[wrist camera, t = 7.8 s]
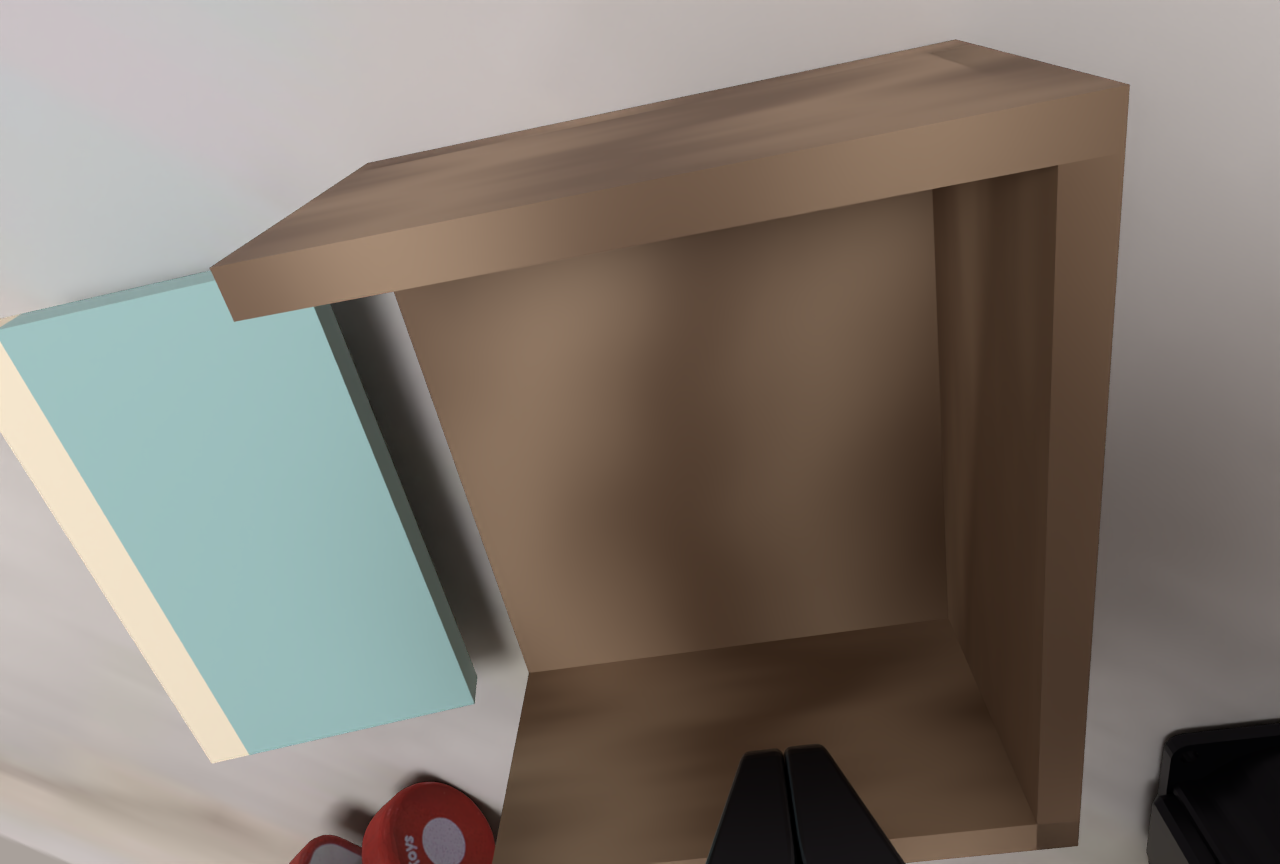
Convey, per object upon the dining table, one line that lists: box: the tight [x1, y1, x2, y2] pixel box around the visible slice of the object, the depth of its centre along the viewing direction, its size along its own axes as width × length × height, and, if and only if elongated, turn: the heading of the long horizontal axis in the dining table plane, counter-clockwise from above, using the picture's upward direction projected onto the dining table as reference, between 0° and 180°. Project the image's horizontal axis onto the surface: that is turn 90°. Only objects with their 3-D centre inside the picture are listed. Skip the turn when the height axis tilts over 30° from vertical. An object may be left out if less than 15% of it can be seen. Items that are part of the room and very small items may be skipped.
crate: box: [210, 40, 1130, 864], centre depth 17 cm, size 12×14×7 cm
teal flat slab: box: [0, 271, 477, 763], centre depth 20 cm, size 1×12×7 cm
